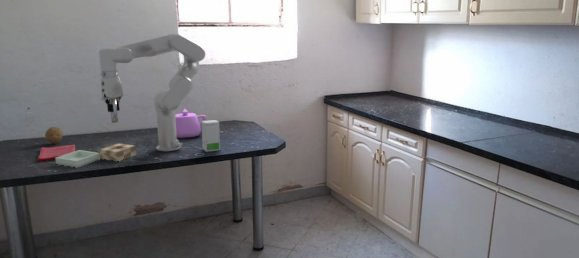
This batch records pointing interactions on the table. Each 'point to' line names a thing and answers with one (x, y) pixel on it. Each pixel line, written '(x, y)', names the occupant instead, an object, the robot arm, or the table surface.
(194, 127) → the teapot
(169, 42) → the robot arm
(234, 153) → the table surface
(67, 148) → the dish towel
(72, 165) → the tray
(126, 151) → the hitch block
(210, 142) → the skincare box
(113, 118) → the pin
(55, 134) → the natural sponge
